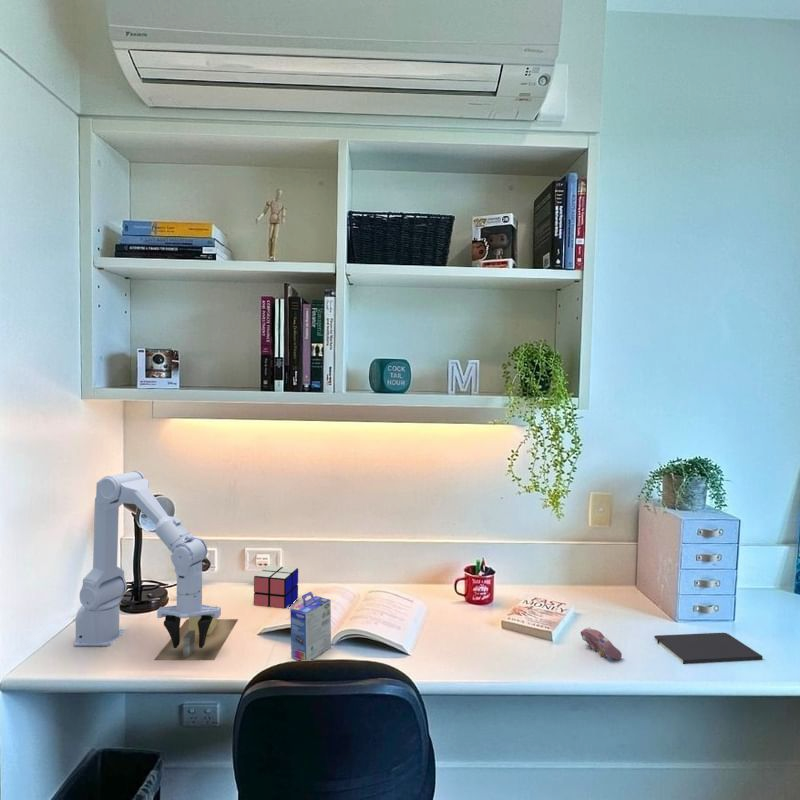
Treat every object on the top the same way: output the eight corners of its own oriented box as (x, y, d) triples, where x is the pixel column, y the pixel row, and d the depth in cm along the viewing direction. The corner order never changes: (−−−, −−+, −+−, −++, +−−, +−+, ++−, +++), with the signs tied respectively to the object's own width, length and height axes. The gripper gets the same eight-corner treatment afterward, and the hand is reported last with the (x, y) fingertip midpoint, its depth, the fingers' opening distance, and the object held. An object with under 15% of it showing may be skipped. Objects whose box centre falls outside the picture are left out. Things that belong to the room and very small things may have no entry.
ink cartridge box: (315, 641, 141) (315, 586, 141) (332, 646, 139) (332, 590, 138) (288, 657, 133) (289, 599, 132) (306, 664, 130) (307, 604, 130)
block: (188, 634, 141) (189, 613, 141) (196, 625, 147) (196, 605, 146) (210, 634, 141) (210, 613, 141) (216, 625, 147) (216, 605, 147)
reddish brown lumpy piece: (584, 650, 142) (574, 628, 141) (596, 640, 144) (587, 618, 142) (611, 669, 133) (601, 646, 132) (624, 658, 134) (615, 635, 133)
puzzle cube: (285, 613, 158) (285, 579, 158) (253, 609, 160) (253, 576, 160) (298, 599, 168) (298, 567, 168) (268, 596, 170) (268, 564, 170)
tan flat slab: (153, 664, 128) (153, 641, 128) (186, 622, 150) (186, 603, 150) (214, 664, 129) (214, 641, 129) (238, 622, 151) (238, 603, 151)
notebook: (682, 666, 133) (762, 662, 136) (683, 659, 133) (762, 655, 136) (652, 641, 146) (725, 638, 148) (652, 635, 145) (726, 632, 148)
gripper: (151, 597, 127) (151, 654, 128) (214, 597, 128) (214, 654, 128) (163, 585, 134) (163, 640, 135) (223, 585, 135) (223, 639, 135)
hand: (189, 646), depth 132 cm, fingers open, 5 cm apart
